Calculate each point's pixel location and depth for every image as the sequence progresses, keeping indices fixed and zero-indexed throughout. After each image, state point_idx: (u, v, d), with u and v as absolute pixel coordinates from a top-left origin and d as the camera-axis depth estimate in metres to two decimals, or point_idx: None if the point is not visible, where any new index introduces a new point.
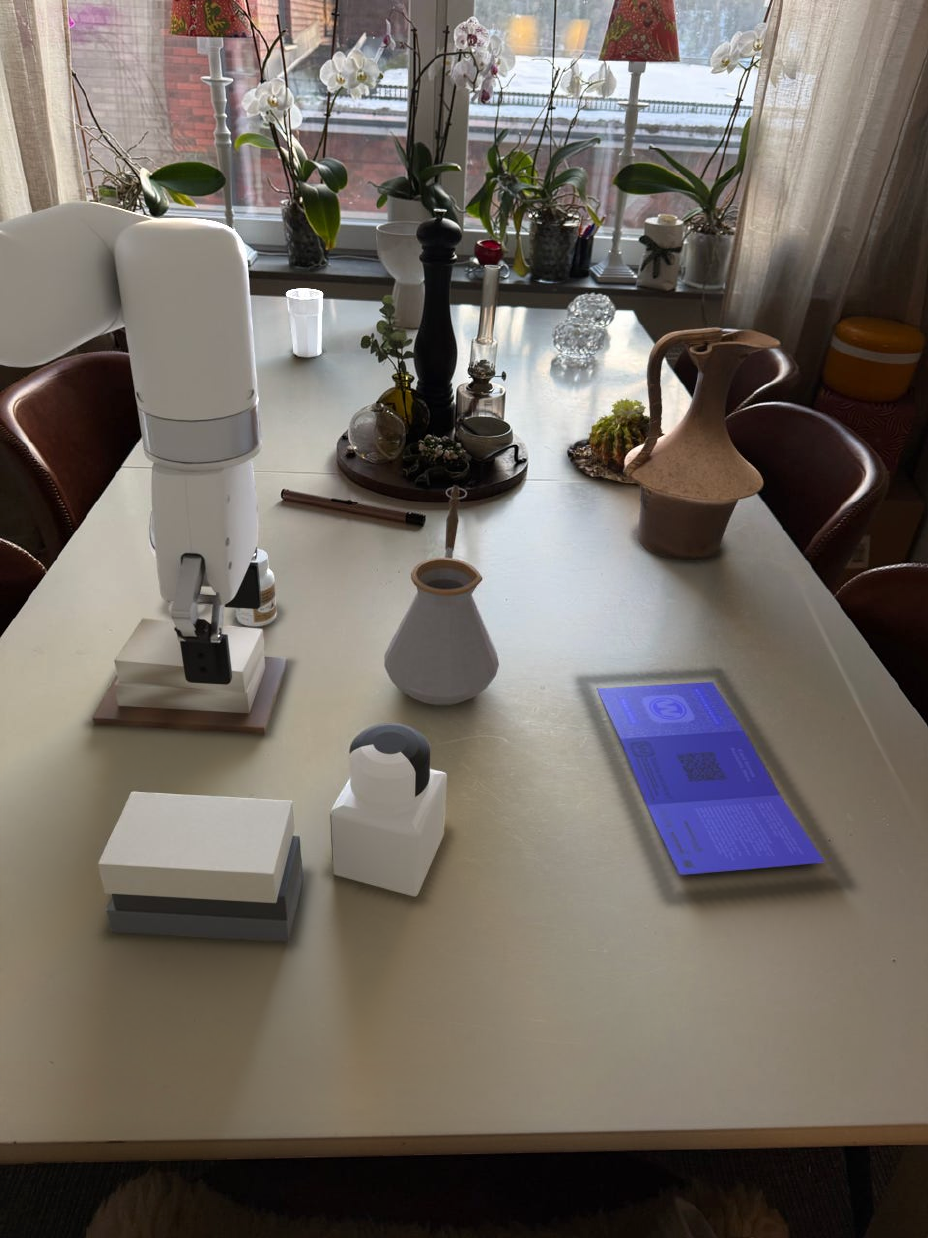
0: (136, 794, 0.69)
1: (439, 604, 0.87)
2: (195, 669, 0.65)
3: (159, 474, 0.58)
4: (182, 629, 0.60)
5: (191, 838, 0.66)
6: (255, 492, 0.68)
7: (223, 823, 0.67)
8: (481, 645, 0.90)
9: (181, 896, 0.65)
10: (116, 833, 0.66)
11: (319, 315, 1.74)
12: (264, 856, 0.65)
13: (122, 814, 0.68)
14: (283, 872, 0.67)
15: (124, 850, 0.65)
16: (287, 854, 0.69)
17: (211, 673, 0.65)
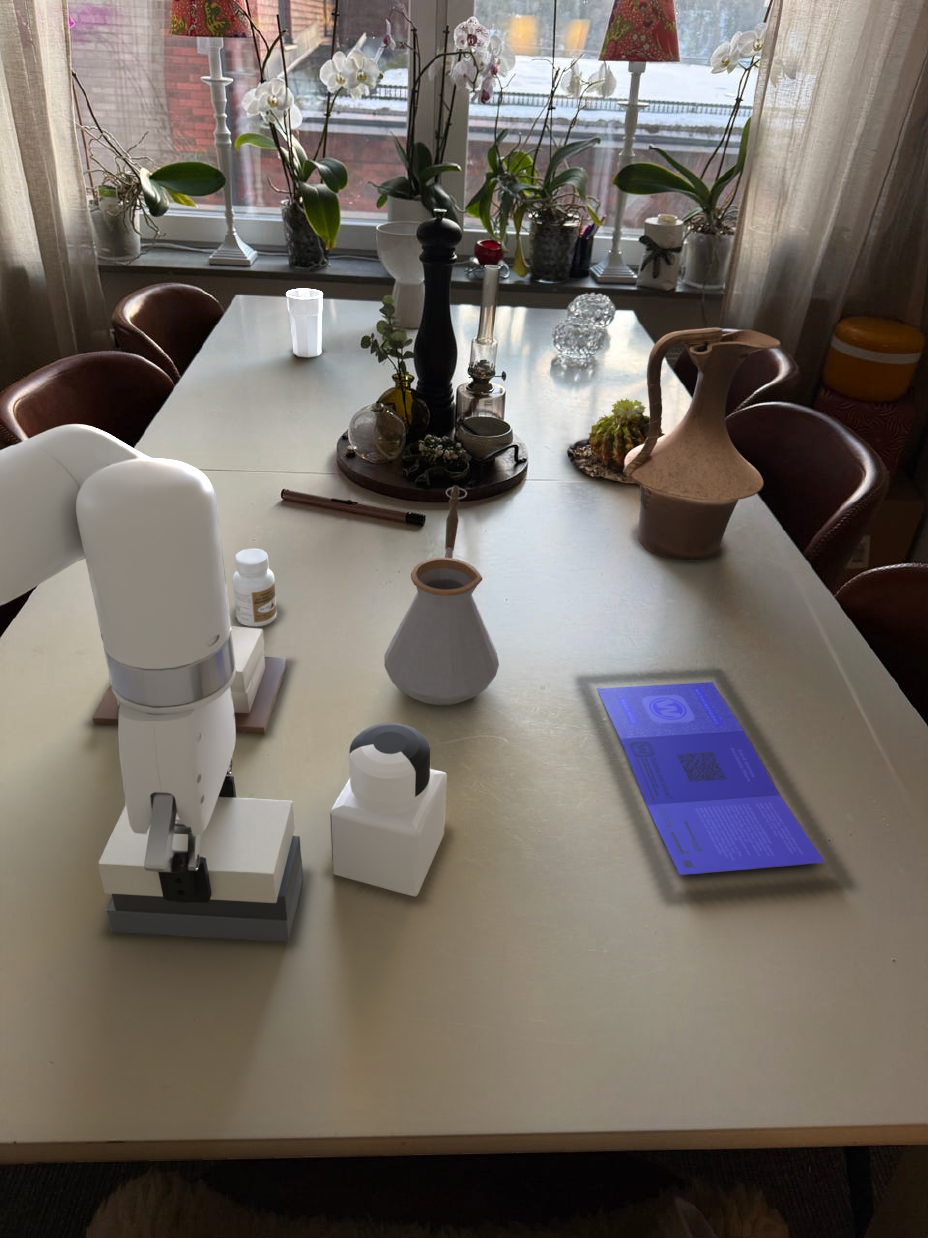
0: None
1: (439, 604, 0.87)
2: (173, 892, 0.63)
3: (126, 719, 0.55)
4: None
5: None
6: (231, 702, 0.65)
7: (223, 823, 0.67)
8: (481, 645, 0.90)
9: None
10: (116, 833, 0.66)
11: (319, 315, 1.74)
12: (264, 856, 0.65)
13: (122, 814, 0.68)
14: (283, 872, 0.67)
15: (124, 850, 0.65)
16: (287, 854, 0.69)
17: (189, 896, 0.63)
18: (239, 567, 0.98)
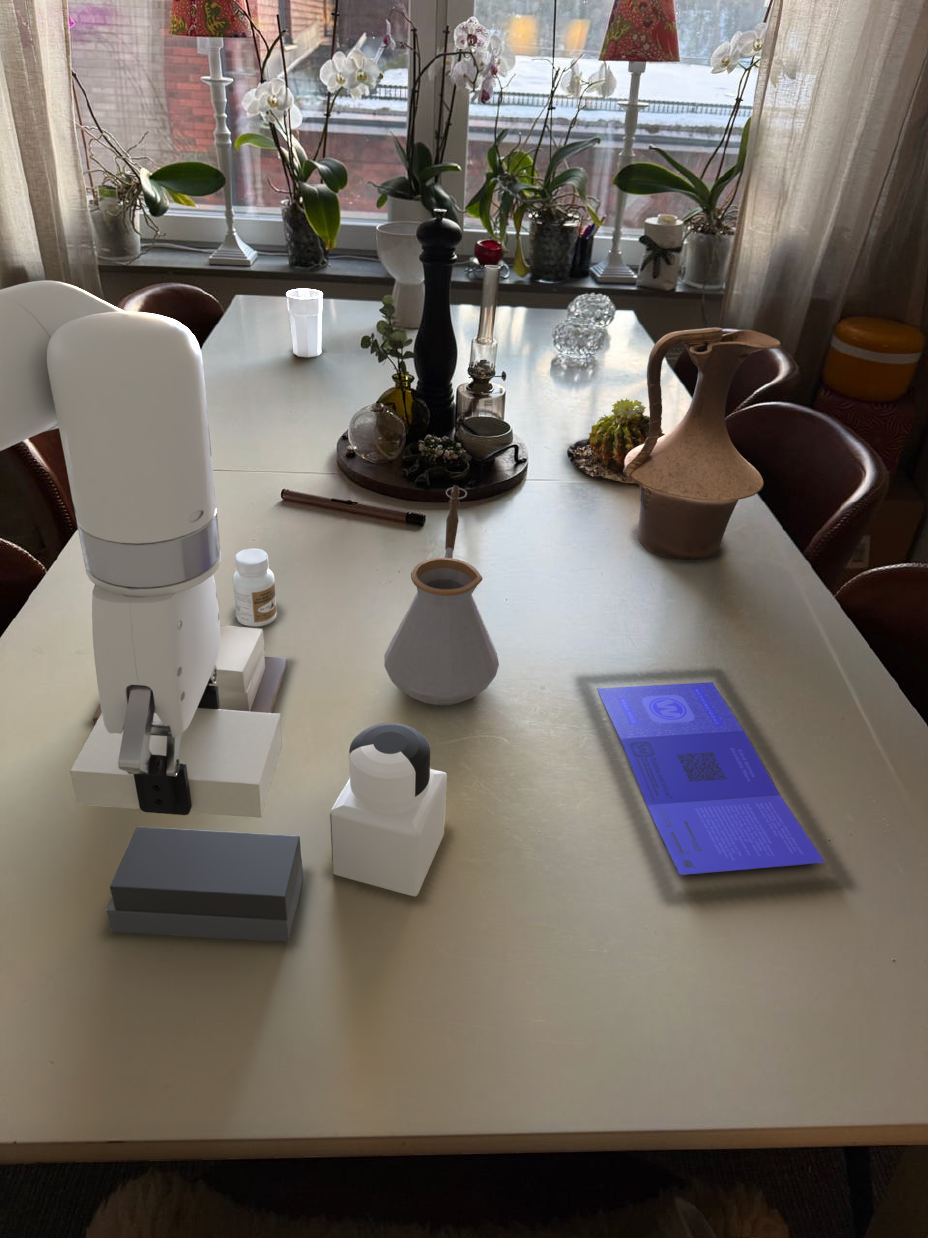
0: None
1: (439, 604, 0.87)
2: (150, 801, 0.58)
3: (100, 600, 0.51)
4: (133, 772, 0.54)
5: None
6: (216, 600, 0.60)
7: (206, 734, 0.63)
8: (481, 645, 0.90)
9: None
10: (90, 741, 0.61)
11: (319, 315, 1.74)
12: (249, 766, 0.61)
13: (97, 723, 0.63)
14: (269, 787, 0.63)
15: (98, 758, 0.60)
16: (274, 769, 0.64)
17: (167, 806, 0.59)
18: (239, 567, 0.98)
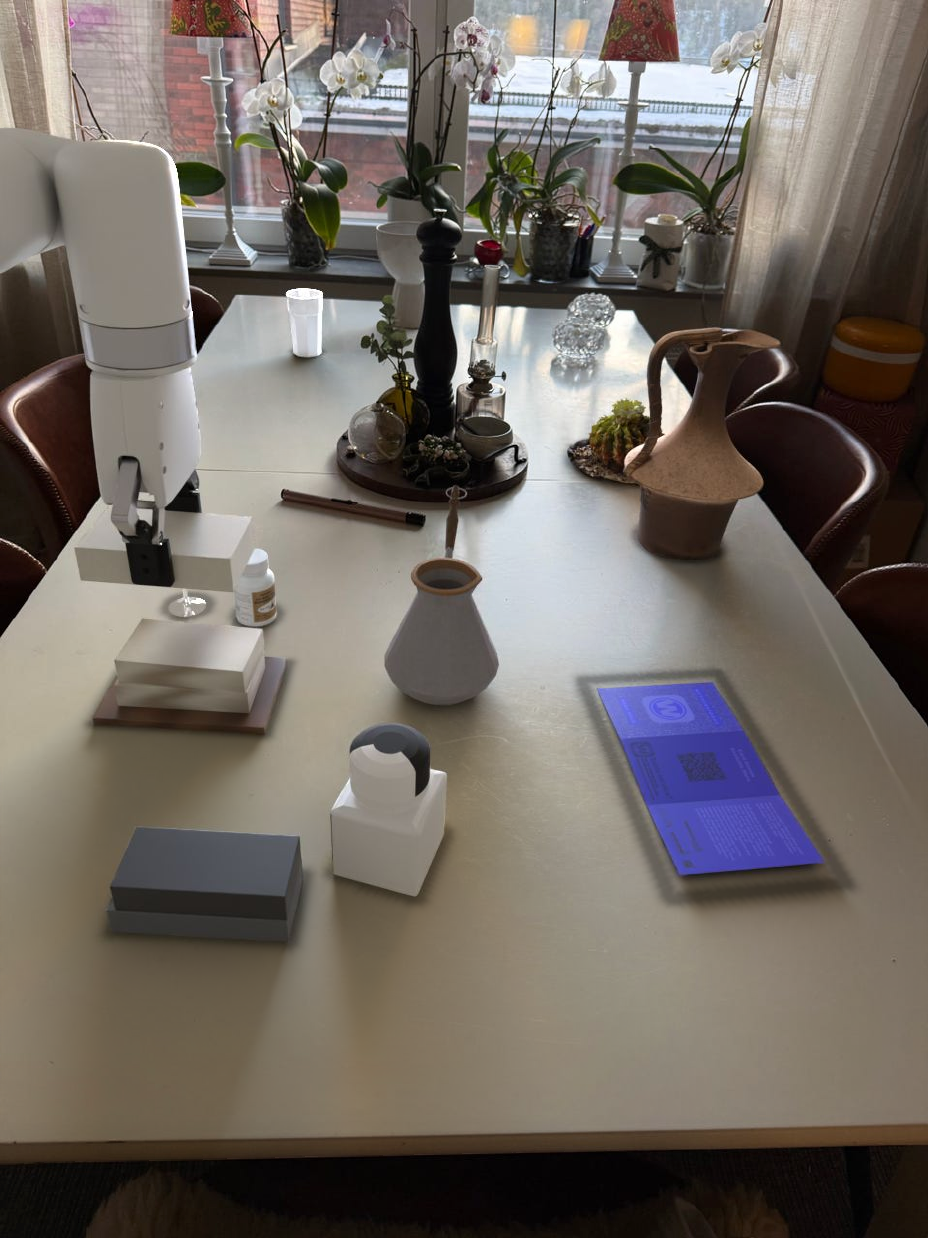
0: None
1: (439, 604, 0.87)
2: (139, 570, 0.70)
3: (96, 379, 0.63)
4: (123, 530, 0.66)
5: None
6: (196, 409, 0.72)
7: (189, 527, 0.75)
8: (481, 645, 0.90)
9: None
10: (92, 530, 0.74)
11: (319, 315, 1.74)
12: (223, 548, 0.72)
13: (98, 518, 0.75)
14: (241, 573, 0.75)
15: (98, 540, 0.72)
16: (246, 562, 0.76)
17: (154, 574, 0.71)
18: None
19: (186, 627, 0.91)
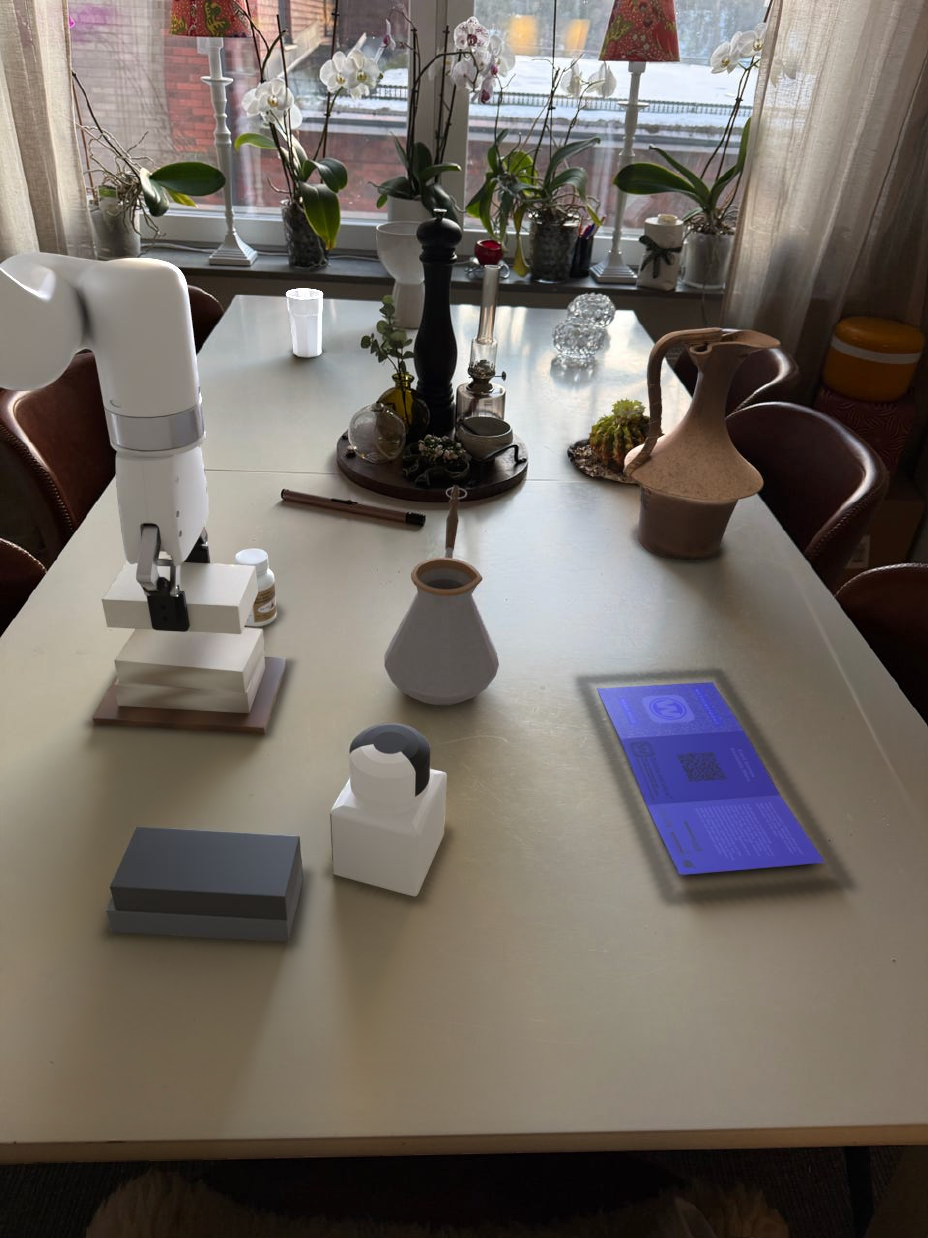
0: None
1: (439, 604, 0.87)
2: (159, 618, 0.81)
3: (121, 460, 0.73)
4: (146, 587, 0.77)
5: None
6: (204, 476, 0.83)
7: (200, 577, 0.85)
8: (481, 645, 0.90)
9: None
10: (116, 582, 0.84)
11: (319, 315, 1.74)
12: (231, 596, 0.83)
13: (120, 571, 0.86)
14: (247, 616, 0.85)
15: (122, 592, 0.83)
16: (251, 606, 0.87)
17: (172, 622, 0.81)
18: None
19: None
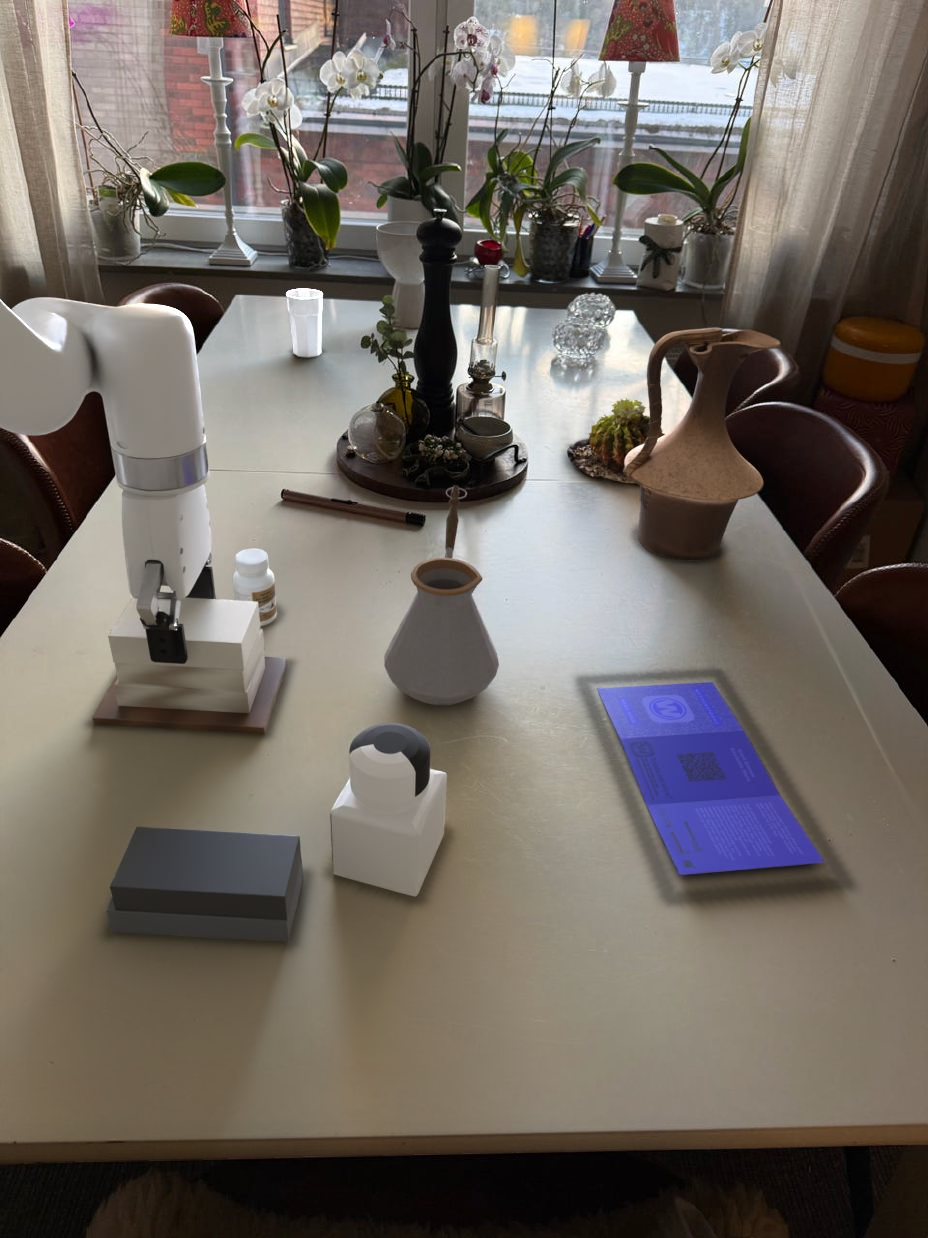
0: None
1: (439, 604, 0.87)
2: (157, 651, 0.82)
3: (127, 499, 0.75)
4: (145, 619, 0.77)
5: (179, 622, 0.86)
6: (207, 511, 0.85)
7: (204, 613, 0.87)
8: (481, 645, 0.90)
9: (171, 664, 0.85)
10: (122, 618, 0.86)
11: (319, 315, 1.74)
12: (234, 633, 0.85)
13: (126, 607, 0.88)
14: (250, 652, 0.88)
15: (128, 628, 0.85)
16: (254, 641, 0.89)
17: (170, 654, 0.82)
18: (239, 567, 0.98)
19: None
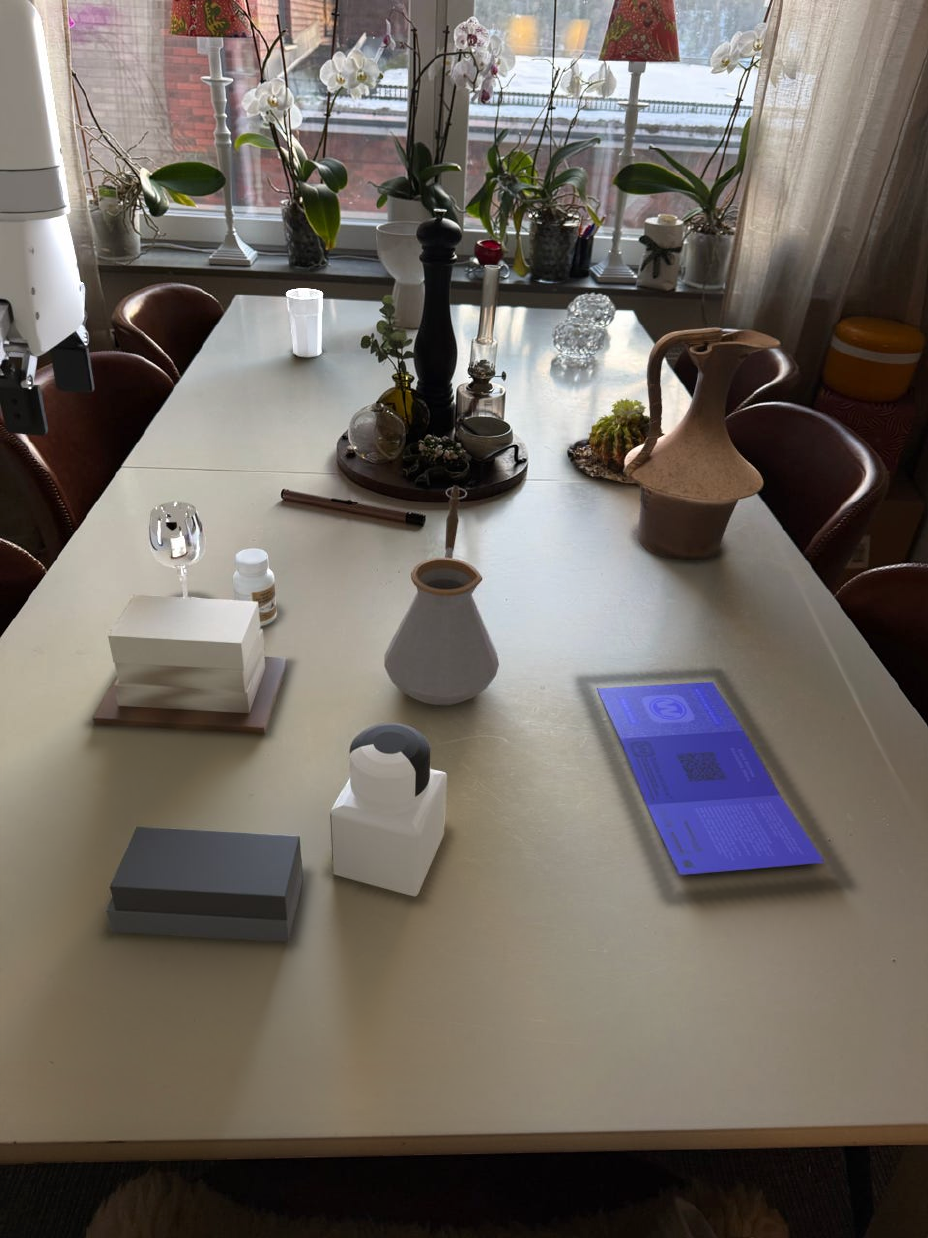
0: (137, 596, 0.89)
1: (439, 604, 0.87)
2: (11, 416, 0.73)
3: None
4: None
5: (179, 622, 0.86)
6: (76, 270, 0.76)
7: (204, 613, 0.87)
8: (481, 645, 0.90)
9: (171, 664, 0.85)
10: (122, 618, 0.86)
11: (319, 315, 1.74)
12: (234, 633, 0.85)
13: (126, 607, 0.88)
14: (250, 652, 0.88)
15: (128, 628, 0.85)
16: (254, 641, 0.89)
17: (25, 420, 0.73)
18: (239, 567, 0.98)
19: None
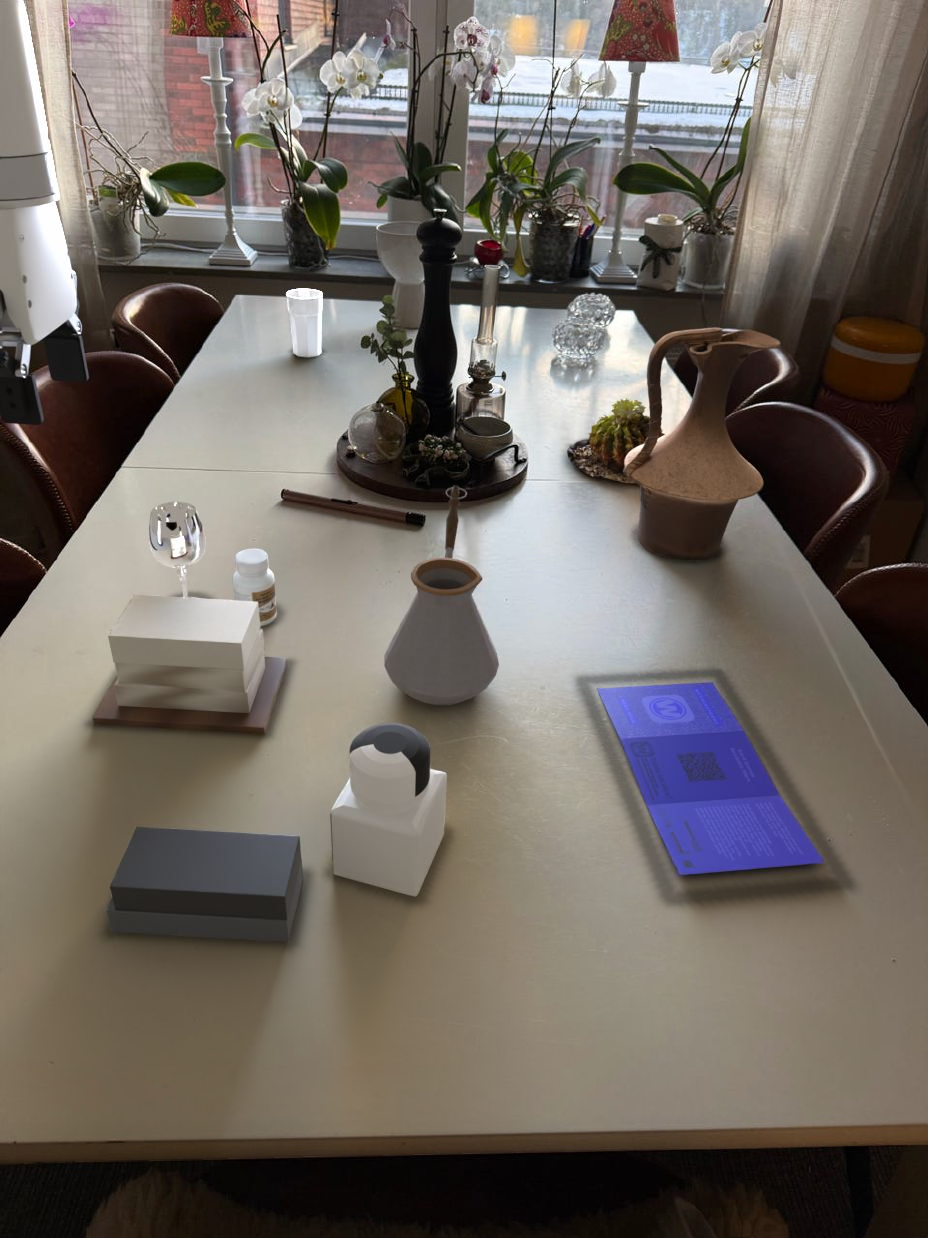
0: (137, 596, 0.89)
1: (439, 604, 0.87)
2: (6, 405, 0.73)
3: None
4: None
5: (179, 622, 0.86)
6: (67, 258, 0.76)
7: (204, 613, 0.87)
8: (481, 645, 0.90)
9: (171, 664, 0.85)
10: (122, 618, 0.86)
11: (319, 315, 1.74)
12: (234, 633, 0.85)
13: (126, 607, 0.88)
14: (250, 652, 0.88)
15: (128, 628, 0.85)
16: (254, 641, 0.89)
17: (21, 409, 0.73)
18: (239, 567, 0.98)
19: None
